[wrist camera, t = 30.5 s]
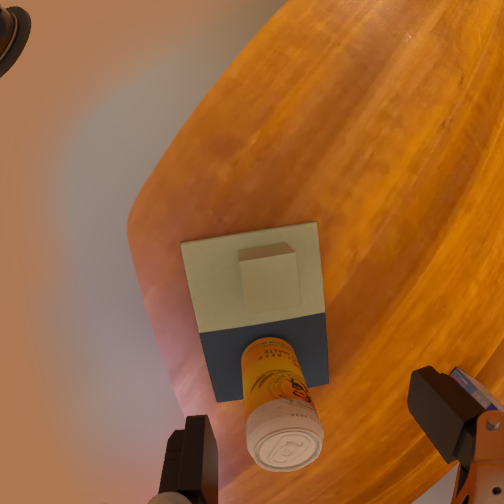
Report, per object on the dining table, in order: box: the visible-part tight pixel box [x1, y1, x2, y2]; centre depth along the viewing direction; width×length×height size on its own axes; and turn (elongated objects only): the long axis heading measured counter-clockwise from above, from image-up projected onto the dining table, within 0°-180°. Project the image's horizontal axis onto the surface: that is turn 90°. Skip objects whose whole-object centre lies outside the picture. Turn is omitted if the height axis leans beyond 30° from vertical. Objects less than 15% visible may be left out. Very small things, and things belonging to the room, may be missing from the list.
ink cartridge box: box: [450, 367, 504, 413], centre depth 34 cm, size 10×6×14 cm, turn 57°
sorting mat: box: [180, 221, 329, 402], centre depth 35 cm, size 14×20×1 cm
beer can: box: [241, 337, 324, 472], centre depth 28 cm, size 6×6×15 cm
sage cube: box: [237, 242, 302, 314], centre depth 31 cm, size 5×5×5 cm
